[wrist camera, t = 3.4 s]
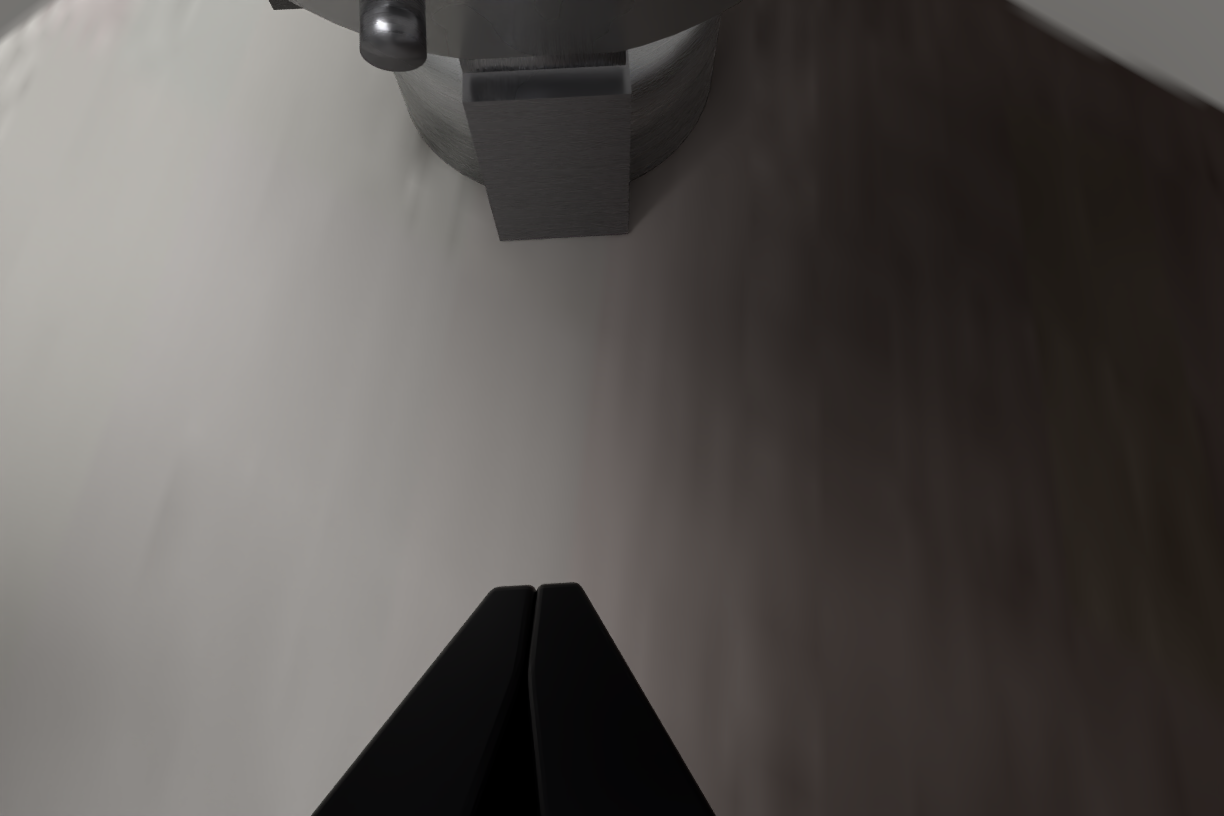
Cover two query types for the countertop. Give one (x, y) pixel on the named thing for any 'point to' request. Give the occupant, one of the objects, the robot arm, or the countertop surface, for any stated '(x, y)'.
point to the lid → (510, 30)
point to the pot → (562, 129)
